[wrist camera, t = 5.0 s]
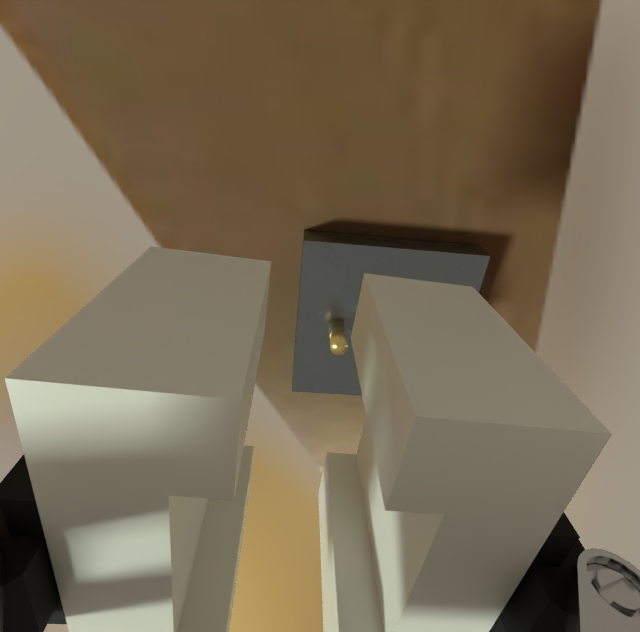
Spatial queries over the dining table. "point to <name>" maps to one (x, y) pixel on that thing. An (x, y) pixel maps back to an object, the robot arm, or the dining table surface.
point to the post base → (344, 290)
